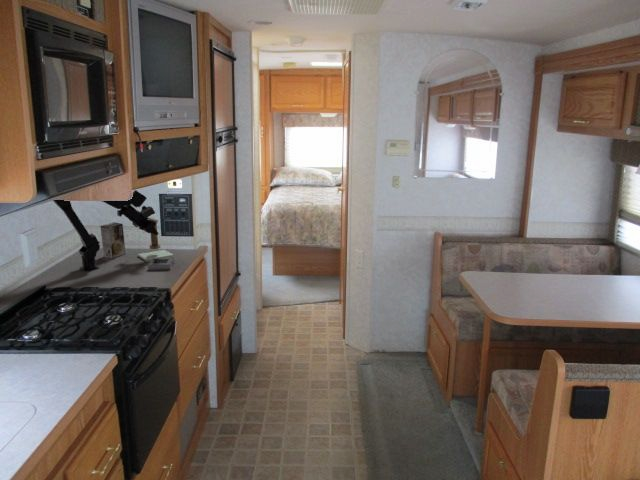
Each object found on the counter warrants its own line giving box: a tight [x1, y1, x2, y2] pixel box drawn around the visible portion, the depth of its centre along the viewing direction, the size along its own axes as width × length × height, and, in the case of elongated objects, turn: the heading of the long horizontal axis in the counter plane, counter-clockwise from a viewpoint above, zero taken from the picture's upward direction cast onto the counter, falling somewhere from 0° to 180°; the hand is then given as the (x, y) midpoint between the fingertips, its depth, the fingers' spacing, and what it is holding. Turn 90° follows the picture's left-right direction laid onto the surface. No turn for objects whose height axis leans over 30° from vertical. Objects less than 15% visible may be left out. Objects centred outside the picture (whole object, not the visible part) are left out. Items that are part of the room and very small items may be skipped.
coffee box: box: [99, 222, 127, 259], centre depth 272 cm, size 9×6×16 cm
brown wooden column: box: [148, 216, 161, 250], centre depth 268 cm, size 5×8×15 cm, turn 38°
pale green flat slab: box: [137, 249, 175, 263], centre depth 271 cm, size 14×12×1 cm
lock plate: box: [147, 256, 176, 271], centre depth 255 cm, size 10×12×2 cm
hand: (156, 233), depth 269 cm, fingers closed on brown wooden column, 3 cm apart
